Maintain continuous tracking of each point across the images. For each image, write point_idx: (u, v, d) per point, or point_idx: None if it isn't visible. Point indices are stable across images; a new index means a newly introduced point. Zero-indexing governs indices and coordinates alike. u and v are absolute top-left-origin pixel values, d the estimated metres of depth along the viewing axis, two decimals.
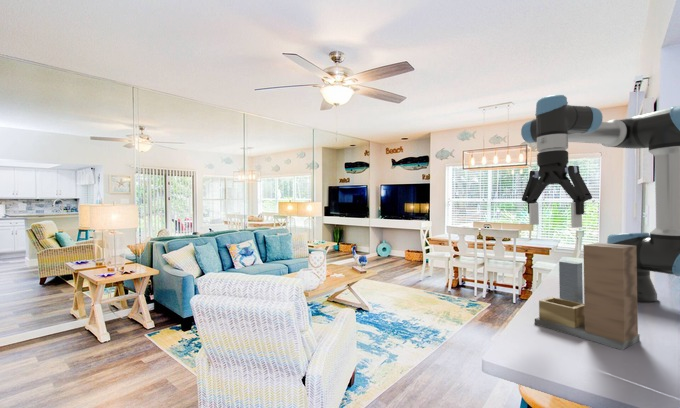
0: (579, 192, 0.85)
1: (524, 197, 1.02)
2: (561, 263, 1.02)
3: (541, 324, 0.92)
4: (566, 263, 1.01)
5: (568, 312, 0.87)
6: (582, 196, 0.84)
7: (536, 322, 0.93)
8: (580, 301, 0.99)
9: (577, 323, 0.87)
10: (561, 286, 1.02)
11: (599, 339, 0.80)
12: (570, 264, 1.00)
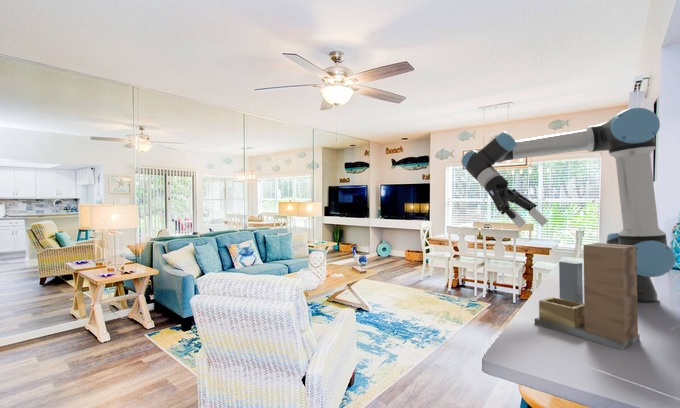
0: None
1: None
2: (561, 263, 1.02)
3: (541, 324, 0.92)
4: (566, 263, 1.01)
5: (568, 312, 0.87)
6: None
7: (536, 322, 0.93)
8: (580, 301, 0.99)
9: (577, 323, 0.87)
10: (561, 286, 1.02)
11: (599, 339, 0.80)
12: (570, 264, 1.00)
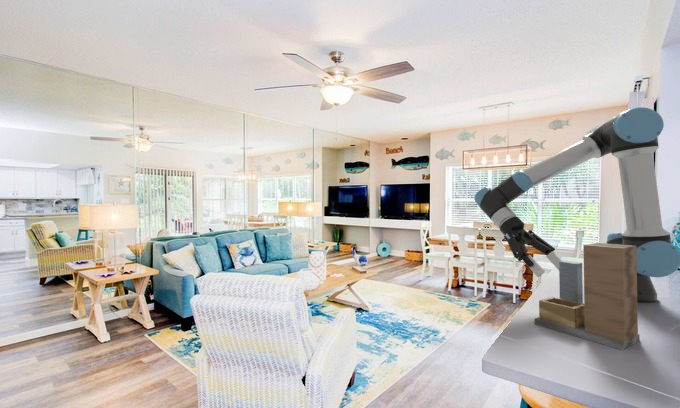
0: None
1: None
2: (561, 263, 1.02)
3: (541, 324, 0.92)
4: (566, 263, 1.01)
5: (568, 312, 0.87)
6: None
7: (536, 322, 0.93)
8: (580, 301, 0.99)
9: (577, 323, 0.87)
10: (561, 286, 1.02)
11: (599, 339, 0.80)
12: (570, 264, 1.00)
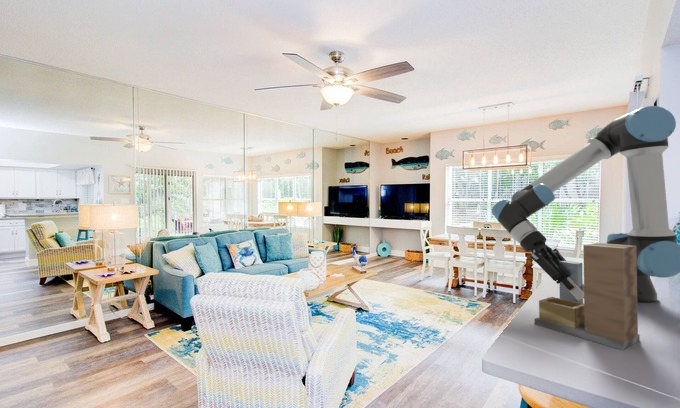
0: None
1: None
2: (561, 263, 1.02)
3: (541, 324, 0.92)
4: (566, 263, 1.01)
5: (568, 312, 0.87)
6: None
7: (536, 322, 0.93)
8: (580, 301, 0.99)
9: (577, 323, 0.87)
10: (561, 286, 1.02)
11: (599, 339, 0.80)
12: (570, 264, 1.00)
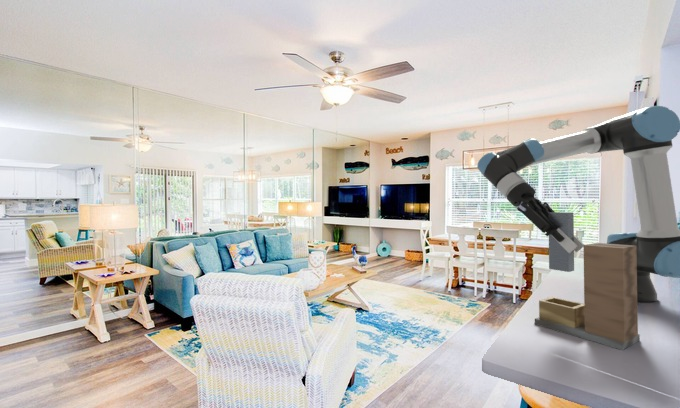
0: None
1: None
2: (550, 214, 0.93)
3: (541, 324, 0.92)
4: (556, 213, 0.92)
5: (568, 312, 0.87)
6: (542, 230, 0.92)
7: (536, 322, 0.93)
8: (571, 254, 0.90)
9: (577, 323, 0.87)
10: (550, 239, 0.93)
11: (599, 339, 0.80)
12: (560, 214, 0.91)
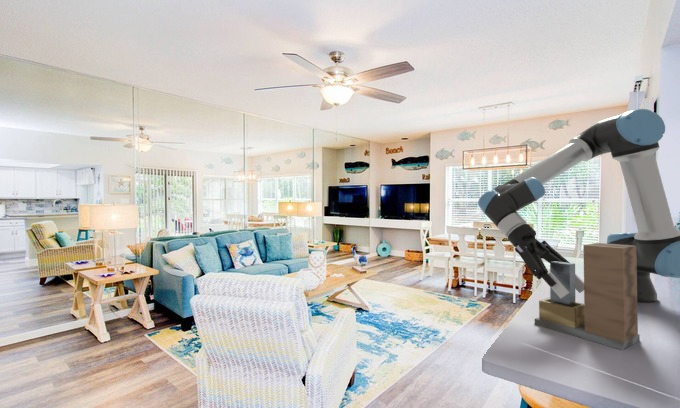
0: None
1: None
2: (552, 263, 0.93)
3: (541, 324, 0.92)
4: (558, 263, 0.92)
5: (568, 312, 0.87)
6: None
7: (536, 322, 0.93)
8: (572, 306, 0.90)
9: (577, 323, 0.87)
10: None
11: (599, 339, 0.80)
12: (562, 265, 0.91)
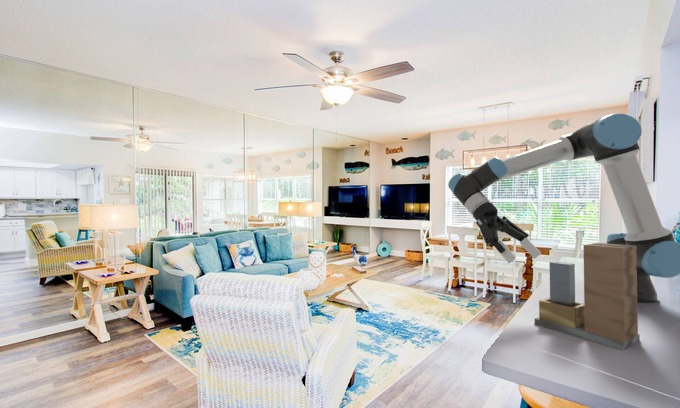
0: None
1: None
2: (552, 264, 0.93)
3: (541, 324, 0.92)
4: (557, 264, 0.92)
5: (568, 312, 0.87)
6: None
7: (536, 322, 0.93)
8: (572, 306, 0.90)
9: (577, 323, 0.87)
10: (552, 289, 0.93)
11: (599, 339, 0.80)
12: (561, 265, 0.91)
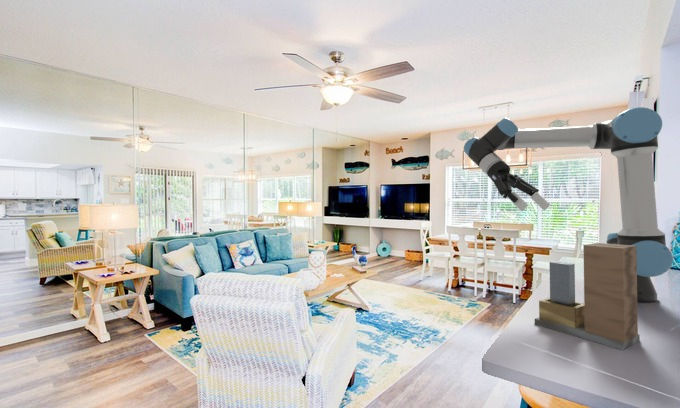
0: None
1: None
2: (552, 264, 0.93)
3: (541, 324, 0.92)
4: (557, 264, 0.92)
5: (568, 312, 0.87)
6: None
7: (536, 322, 0.93)
8: (572, 306, 0.90)
9: (577, 323, 0.87)
10: (552, 289, 0.93)
11: (599, 339, 0.80)
12: (561, 265, 0.91)
